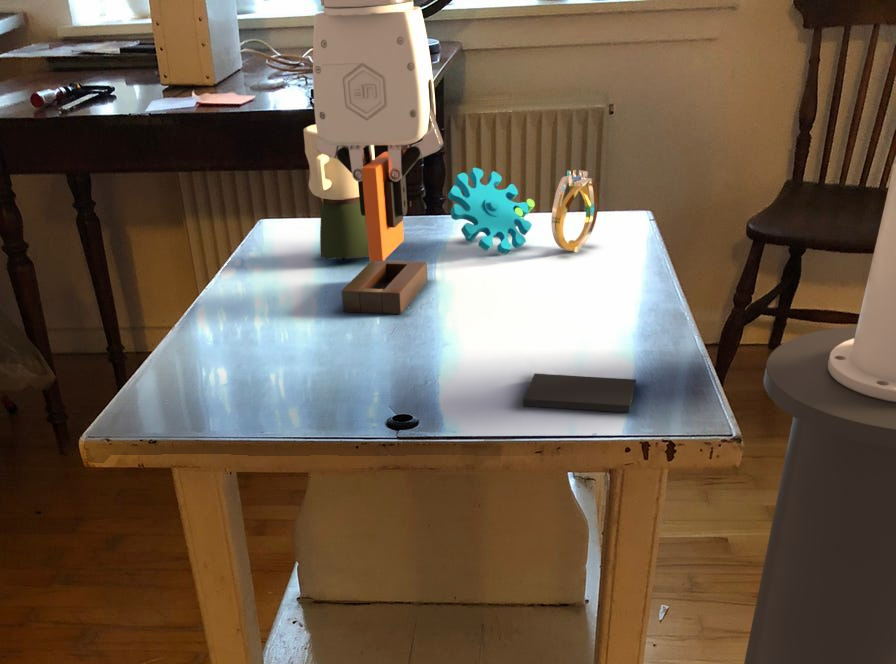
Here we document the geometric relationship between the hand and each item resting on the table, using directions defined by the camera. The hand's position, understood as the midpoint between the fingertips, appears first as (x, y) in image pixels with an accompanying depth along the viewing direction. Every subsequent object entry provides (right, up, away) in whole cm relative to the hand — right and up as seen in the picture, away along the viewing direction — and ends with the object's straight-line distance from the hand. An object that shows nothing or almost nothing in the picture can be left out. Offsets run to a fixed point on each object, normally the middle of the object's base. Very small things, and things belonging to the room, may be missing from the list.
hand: (384, 222), depth 92 cm
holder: (0, -5, +4) cm, 7 cm away
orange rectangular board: (0, -2, +2) cm, 3 cm away
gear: (+12, +4, +16) cm, 21 cm away
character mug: (-4, +3, +15) cm, 16 cm away
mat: (+16, -21, -17) cm, 31 cm away
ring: (+20, +3, +13) cm, 24 cm away
